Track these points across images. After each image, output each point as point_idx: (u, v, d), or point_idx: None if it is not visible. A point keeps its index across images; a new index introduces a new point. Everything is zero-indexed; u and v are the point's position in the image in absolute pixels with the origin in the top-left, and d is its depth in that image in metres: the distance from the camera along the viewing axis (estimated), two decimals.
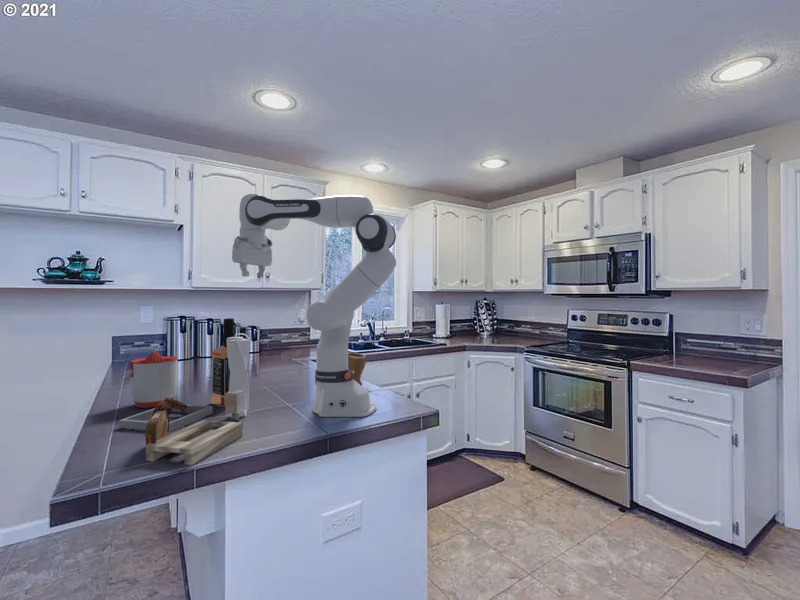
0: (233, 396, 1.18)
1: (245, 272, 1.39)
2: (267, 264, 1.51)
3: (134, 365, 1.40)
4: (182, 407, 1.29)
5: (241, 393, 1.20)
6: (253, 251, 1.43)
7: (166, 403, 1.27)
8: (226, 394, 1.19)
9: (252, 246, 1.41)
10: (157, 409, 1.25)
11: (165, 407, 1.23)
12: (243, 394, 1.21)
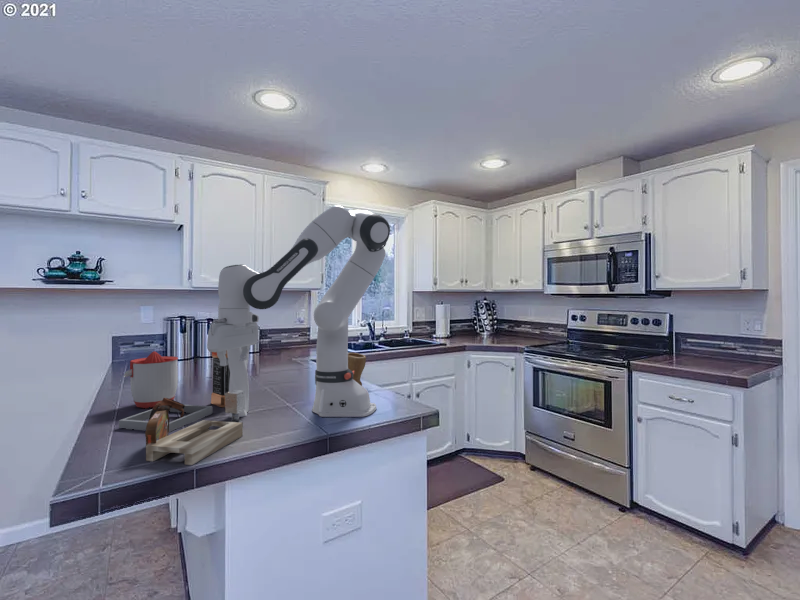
0: (233, 396, 1.18)
1: (224, 361, 1.15)
2: (252, 343, 1.26)
3: (134, 365, 1.40)
4: (180, 407, 1.29)
5: (241, 393, 1.20)
6: (234, 333, 1.18)
7: (164, 403, 1.27)
8: (226, 394, 1.19)
9: (233, 328, 1.17)
10: (155, 409, 1.25)
11: (163, 407, 1.23)
12: (243, 394, 1.21)
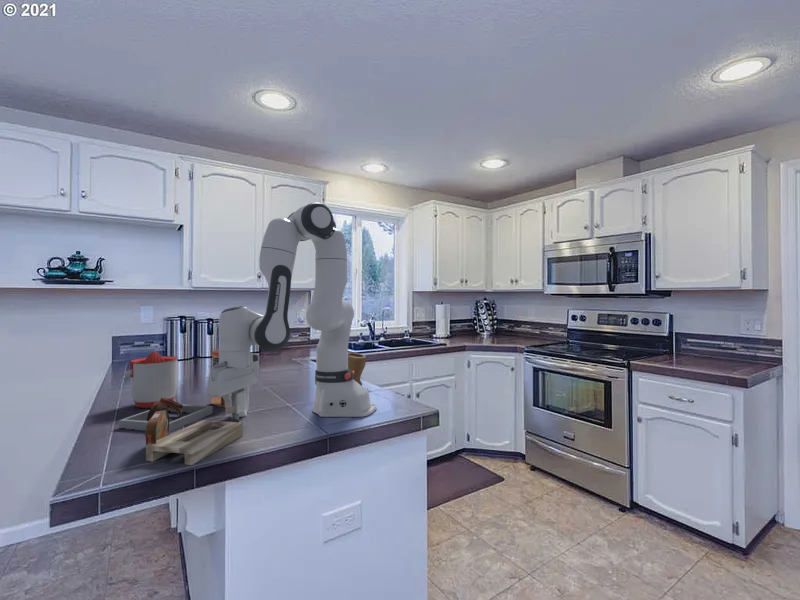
0: (233, 396, 1.18)
1: (229, 403, 1.17)
2: (253, 383, 1.27)
3: (134, 365, 1.40)
4: (178, 407, 1.29)
5: (241, 393, 1.20)
6: (235, 375, 1.18)
7: (162, 403, 1.27)
8: None
9: (234, 371, 1.17)
10: (153, 409, 1.25)
11: (161, 407, 1.23)
12: (243, 394, 1.21)
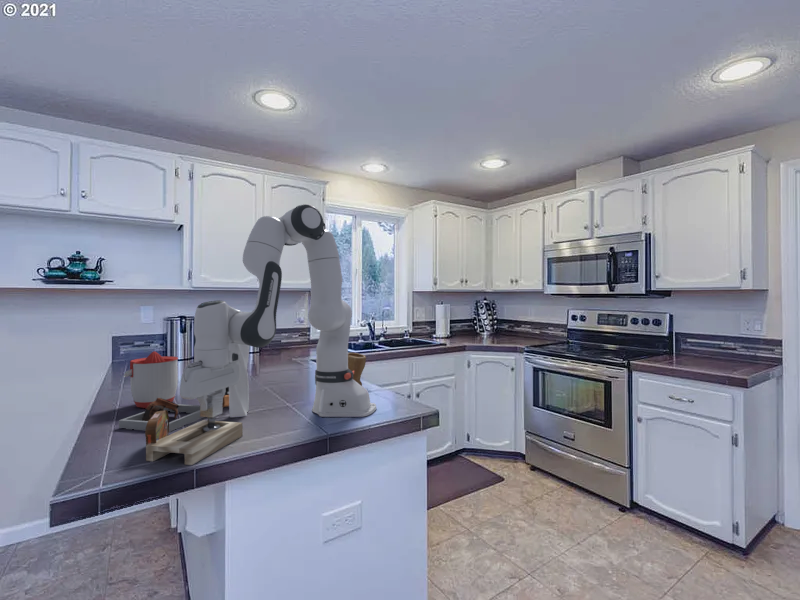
0: (208, 399, 1.09)
1: (204, 405, 1.07)
2: (233, 384, 1.17)
3: (134, 365, 1.40)
4: (174, 407, 1.29)
5: (218, 395, 1.10)
6: (212, 376, 1.08)
7: (158, 403, 1.27)
8: None
9: (210, 371, 1.07)
10: (148, 409, 1.25)
11: (157, 407, 1.23)
12: (220, 396, 1.11)
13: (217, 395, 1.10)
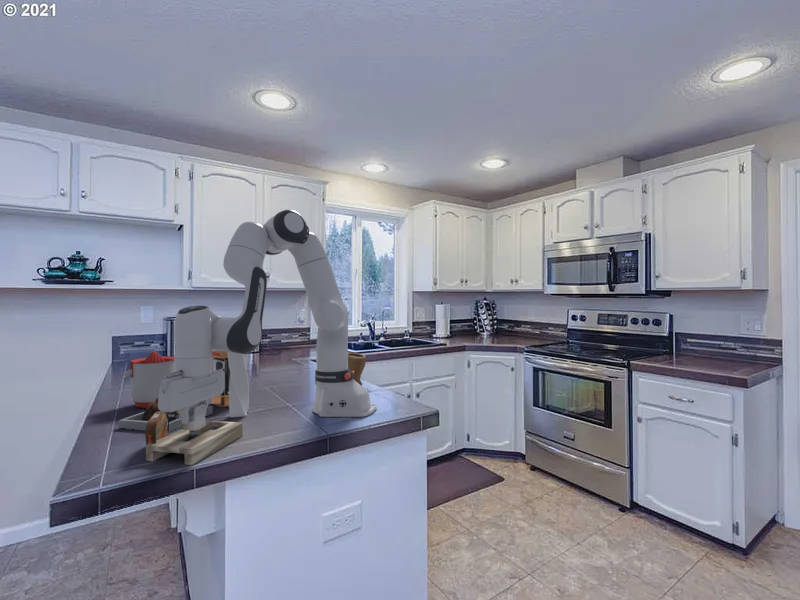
0: (190, 411, 1.02)
1: (185, 418, 1.00)
2: (217, 394, 1.10)
3: (134, 365, 1.40)
4: None
5: (200, 406, 1.04)
6: (193, 386, 1.02)
7: (157, 403, 1.26)
8: None
9: (191, 381, 1.00)
10: (148, 409, 1.25)
11: (157, 407, 1.23)
12: (203, 408, 1.05)
13: (199, 407, 1.03)
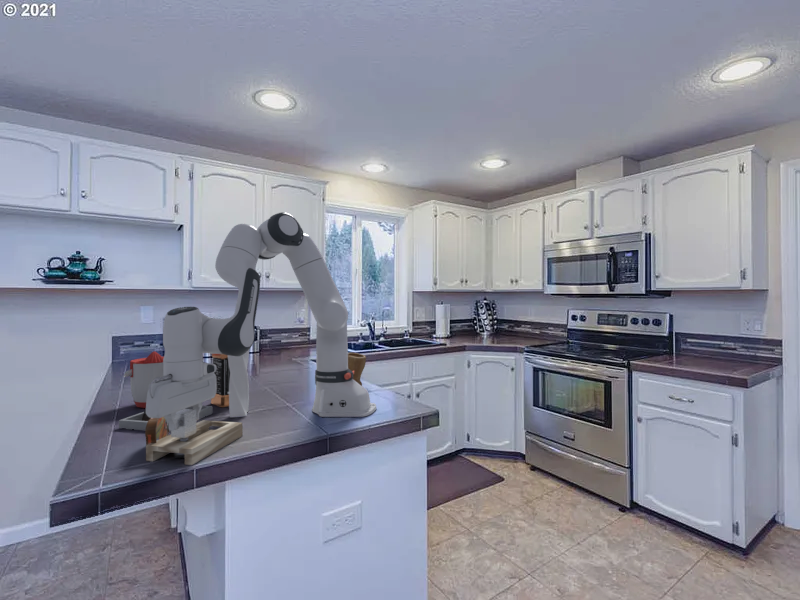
0: (180, 417, 0.98)
1: (173, 425, 0.96)
2: (208, 398, 1.06)
3: (134, 365, 1.40)
4: None
5: (191, 413, 1.00)
6: (183, 390, 0.98)
7: None
8: None
9: (181, 385, 0.96)
10: None
11: None
12: (194, 414, 1.01)
13: (190, 413, 0.99)
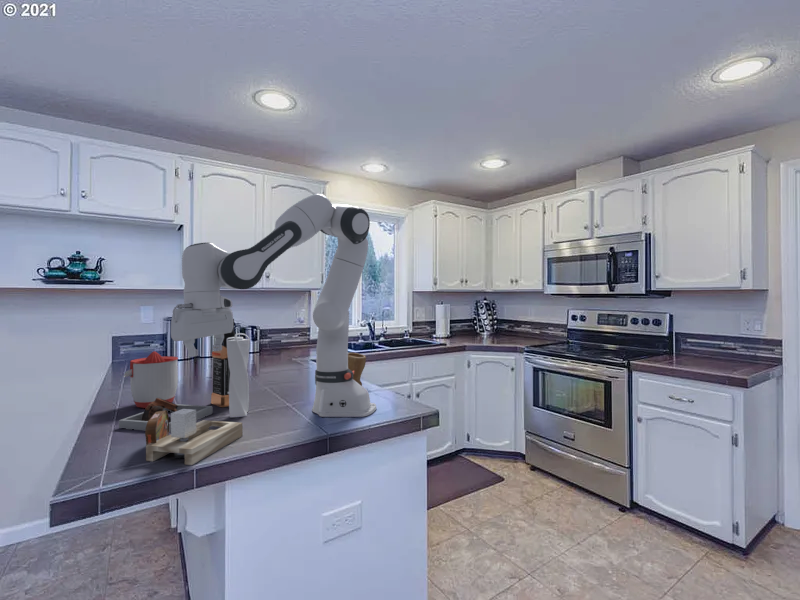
0: (180, 418, 0.98)
1: (192, 351, 1.01)
2: (226, 331, 1.13)
3: (134, 365, 1.40)
4: (173, 407, 1.28)
5: (191, 413, 1.00)
6: (204, 319, 1.05)
7: (157, 403, 1.26)
8: (172, 414, 0.98)
9: (201, 314, 1.03)
10: (148, 409, 1.25)
11: (156, 407, 1.23)
12: (194, 414, 1.01)
13: (190, 413, 0.99)
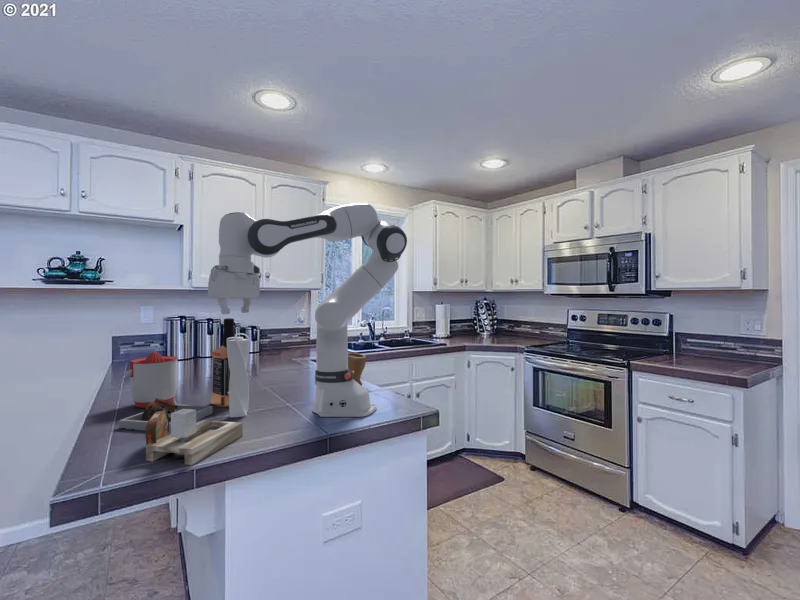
0: (180, 417, 0.98)
1: (225, 309, 1.12)
2: (254, 296, 1.24)
3: (134, 365, 1.40)
4: (173, 407, 1.28)
5: (191, 413, 1.00)
6: (236, 282, 1.15)
7: (156, 403, 1.26)
8: (172, 414, 0.98)
9: (234, 276, 1.14)
10: (147, 410, 1.25)
11: (155, 407, 1.23)
12: (194, 414, 1.01)
13: (190, 413, 0.99)
